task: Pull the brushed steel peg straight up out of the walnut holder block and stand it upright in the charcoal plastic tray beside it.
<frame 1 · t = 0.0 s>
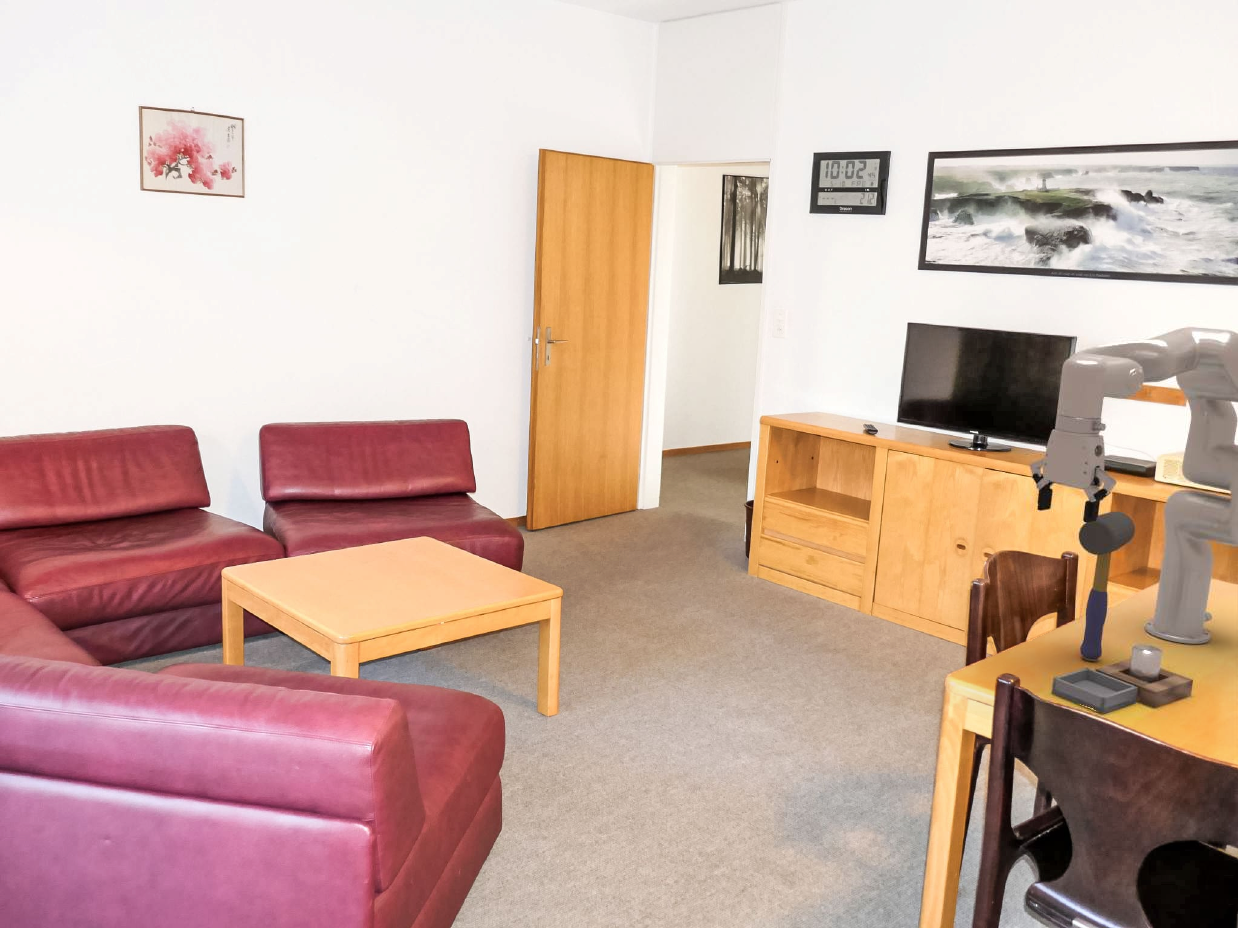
hand: (1066, 515, 199), 31 cm above the table, tool pointing down, fingers open, 9 cm apart
tray: (1093, 697, 194), on the table
steel peg: (1144, 669, 198), in the holder block
rubber mallet: (1089, 660, 213), on the table
holder block: (1141, 689, 199), on the table
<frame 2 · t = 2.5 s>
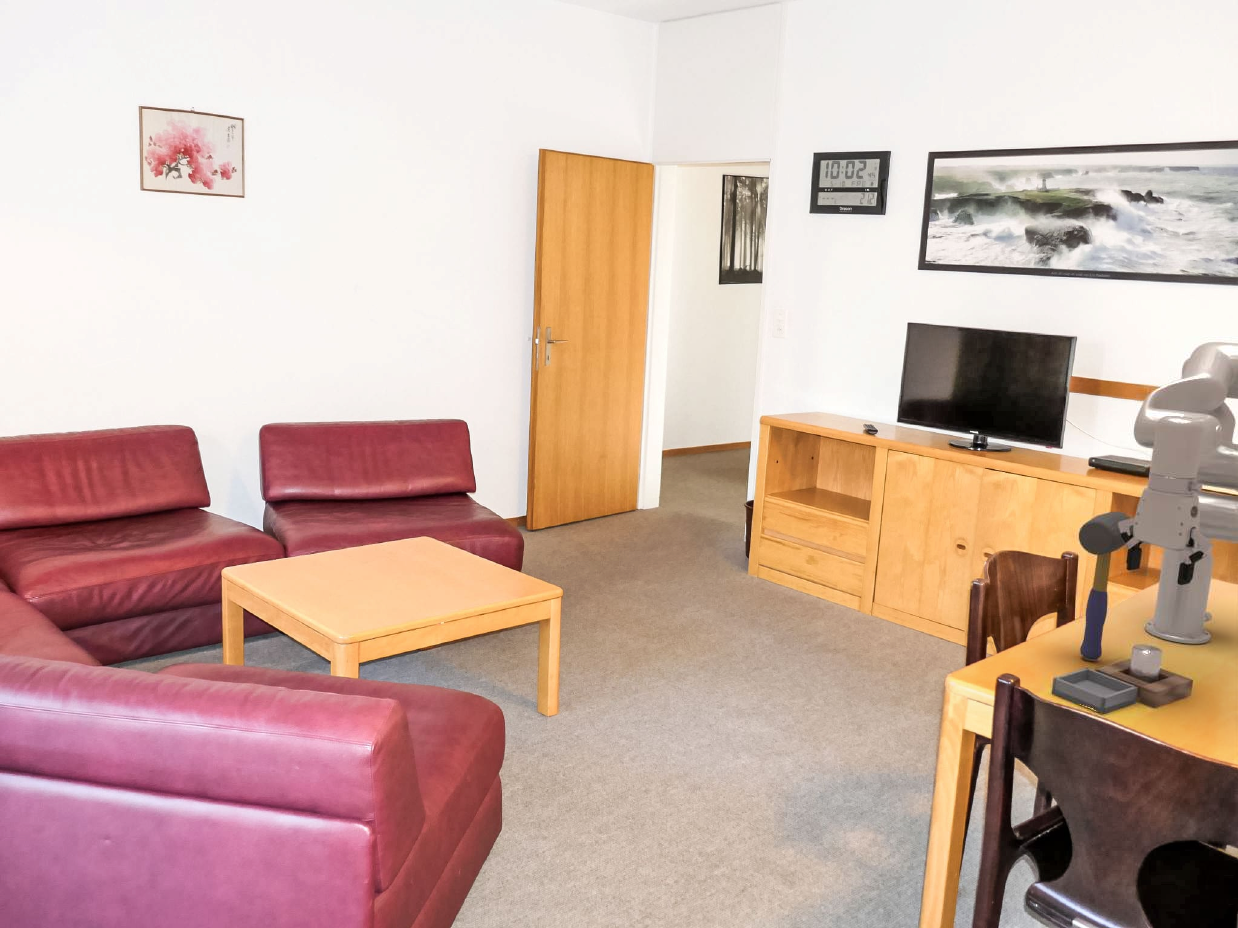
hand: (1157, 576, 194), 22 cm above the table, tool pointing down, fingers open, 9 cm apart
nothing on the table moved.
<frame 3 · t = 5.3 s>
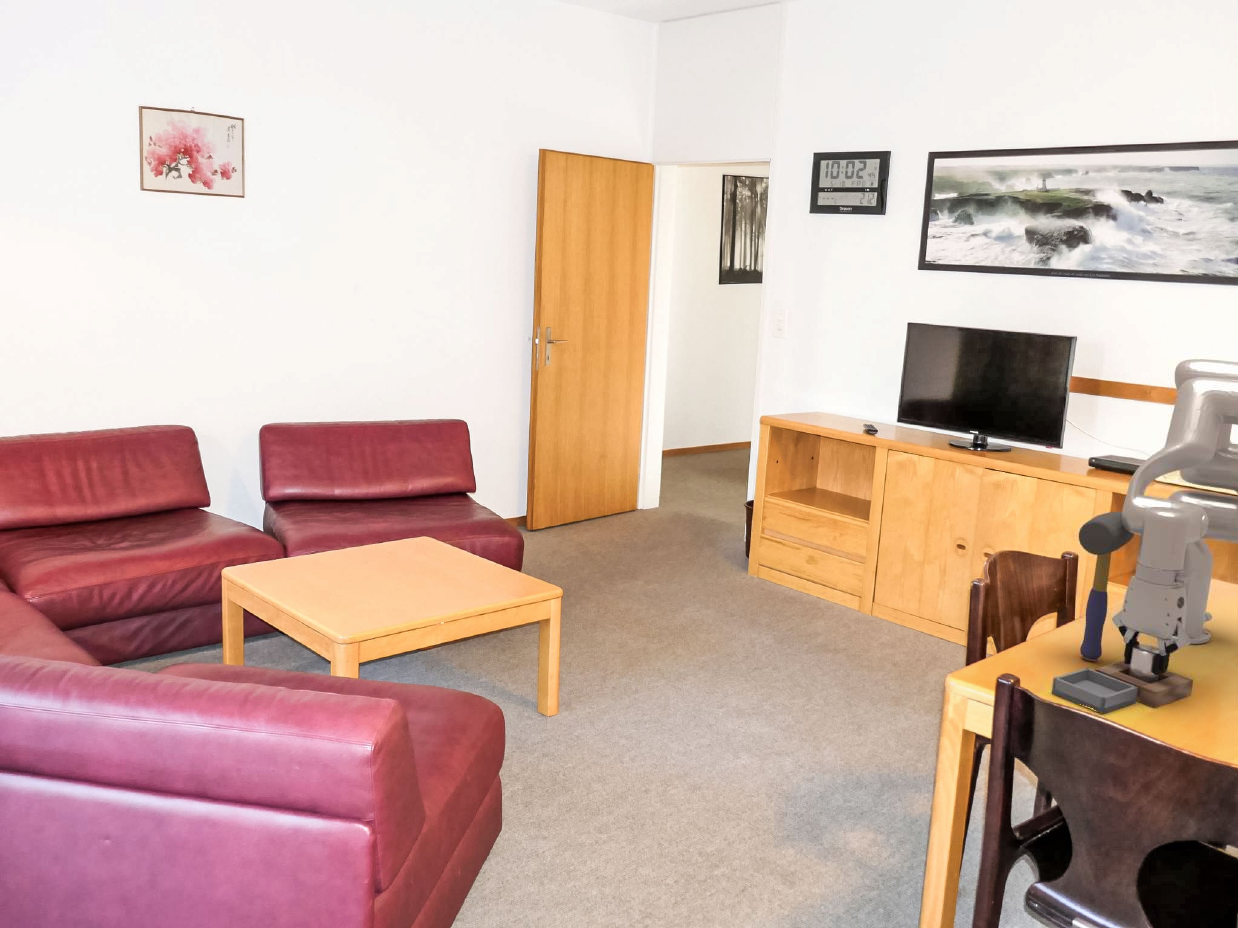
hand: (1144, 667, 198), 4 cm above the table, tool pointing down, fingers closed on steel peg, 5 cm apart
steel peg: (1144, 669, 198), in the holder block, touching gripper
everything else where it was.
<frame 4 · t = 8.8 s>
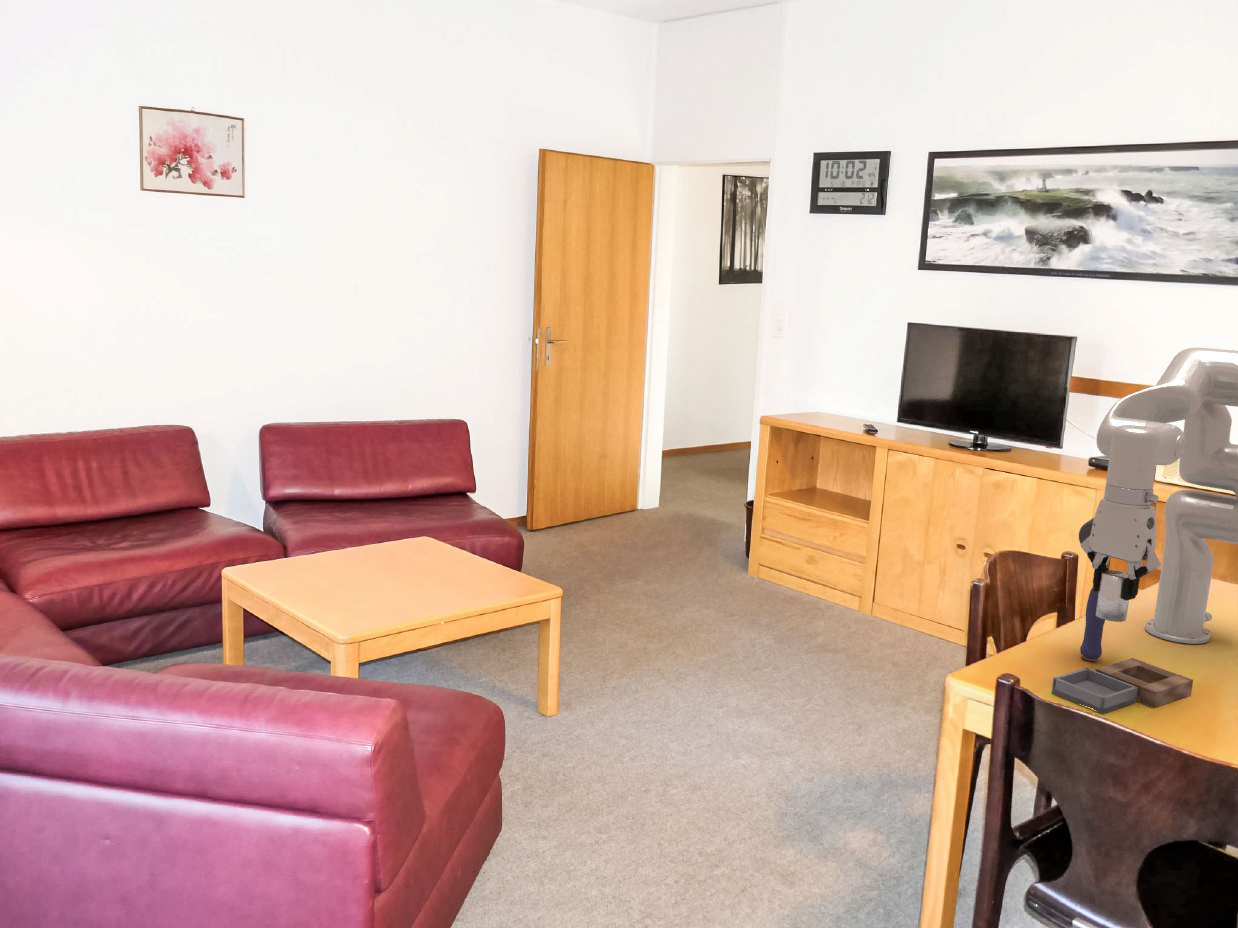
hand: (1114, 593, 190), 20 cm above the table, tool pointing down, fingers closed on steel peg, 5 cm apart
steel peg: (1113, 595, 191), point 19 cm above the table, touching gripper
everything else where it was.
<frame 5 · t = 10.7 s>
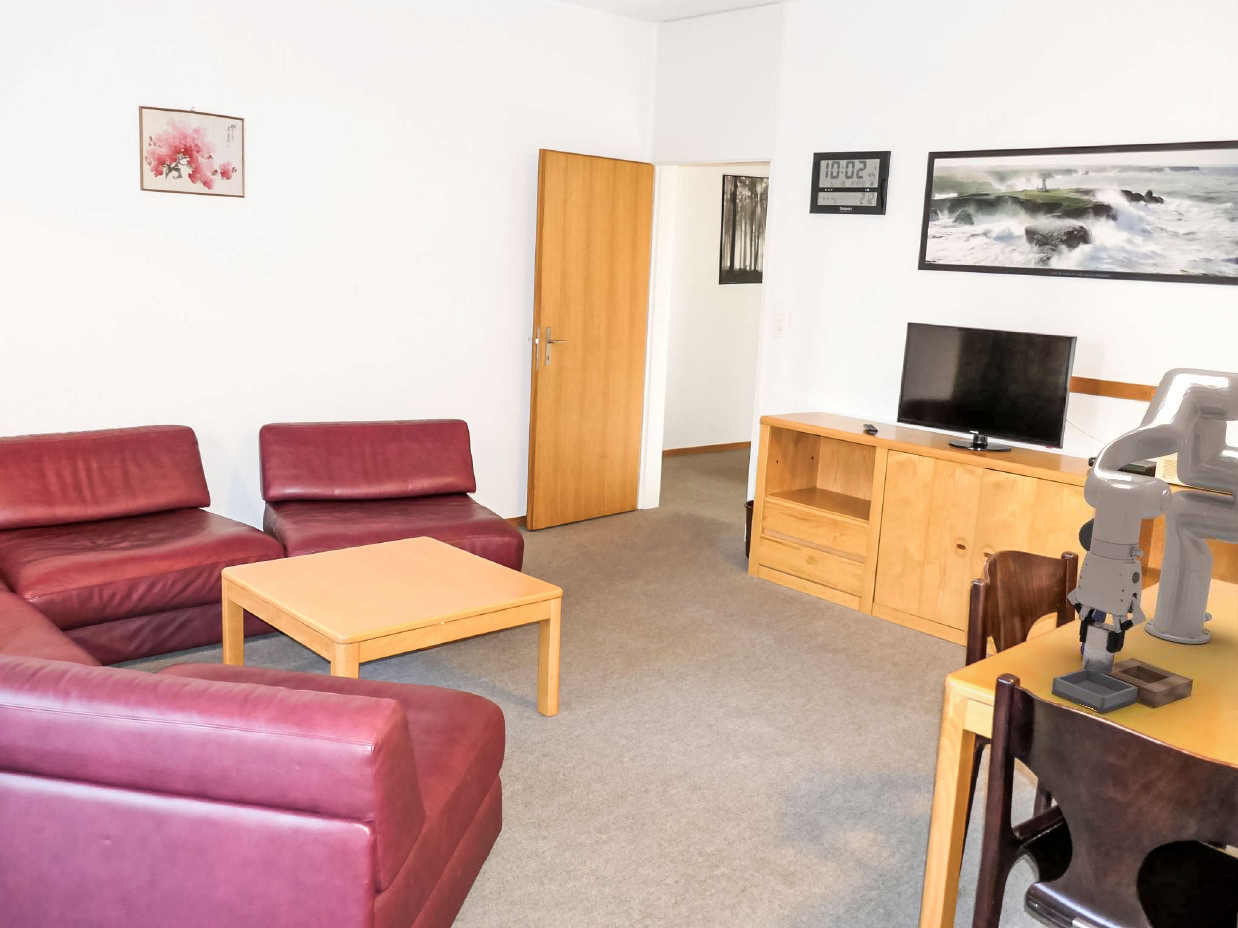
hand: (1100, 645, 192), 10 cm above the table, tool pointing down, fingers closed on steel peg, 5 cm apart
steel peg: (1099, 647, 192), point 10 cm above the table, touching gripper
everything else where it was.
when the fingers open (6 cm above the table, at t = 12.3 s): steel peg stays where it is, resting on tray.
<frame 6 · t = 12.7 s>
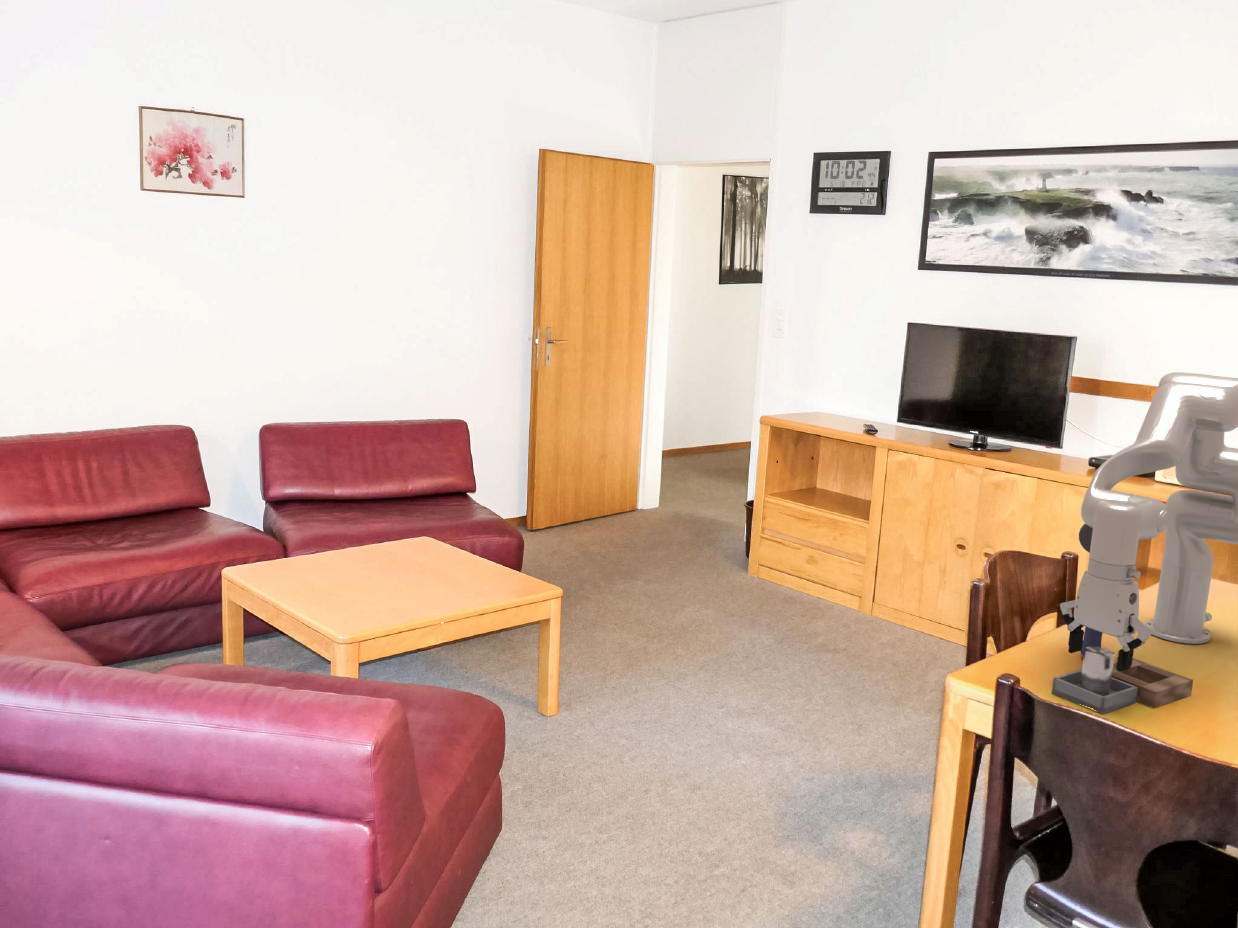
hand: (1098, 660, 192), 7 cm above the table, tool pointing down, fingers open, 9 cm apart
steel peg: (1096, 672, 193), in the tray, point 5 cm above the table
everything else where it was.
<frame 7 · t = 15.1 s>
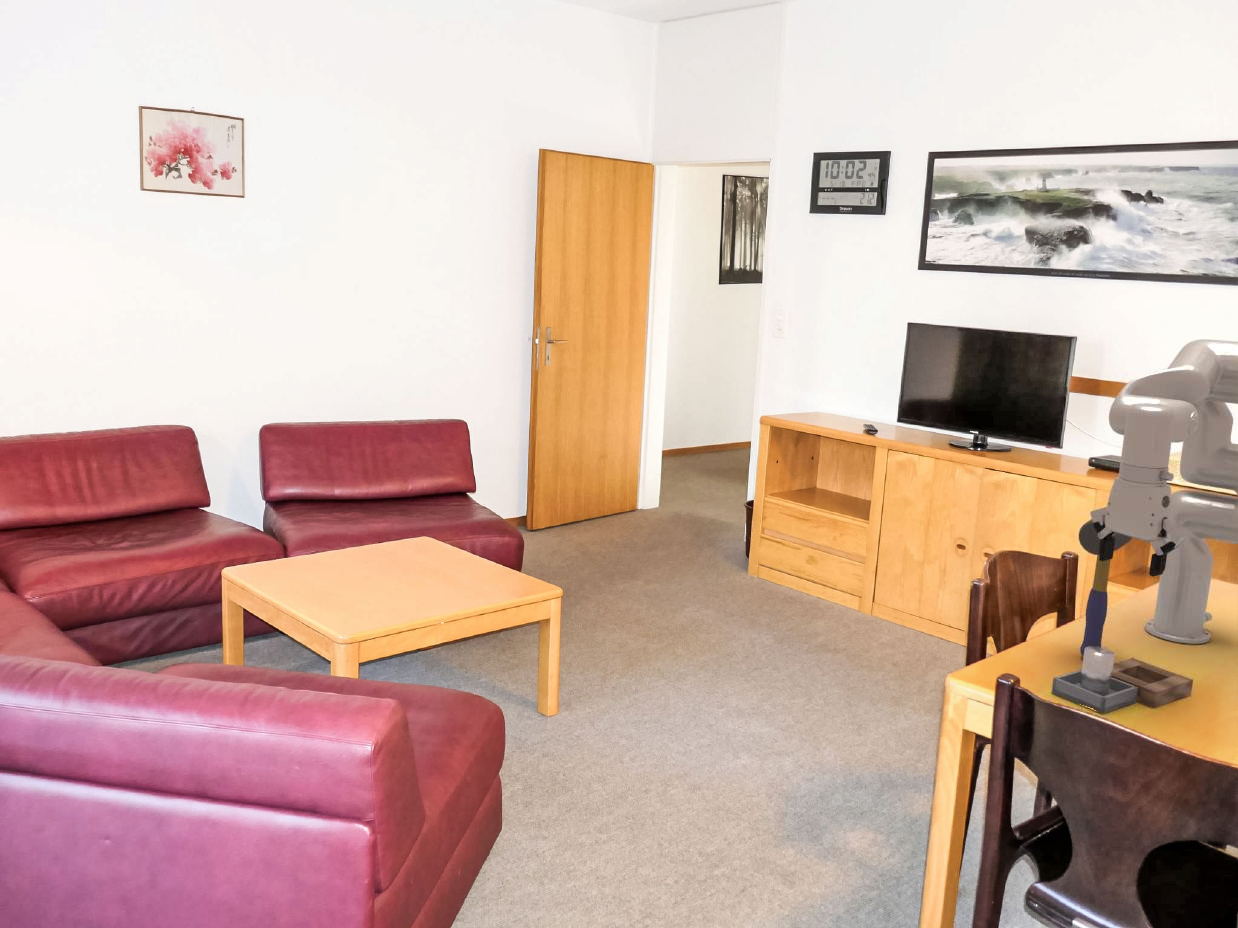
hand: (1130, 567, 190), 25 cm above the table, tool pointing down, fingers open, 9 cm apart
nothing on the table moved.
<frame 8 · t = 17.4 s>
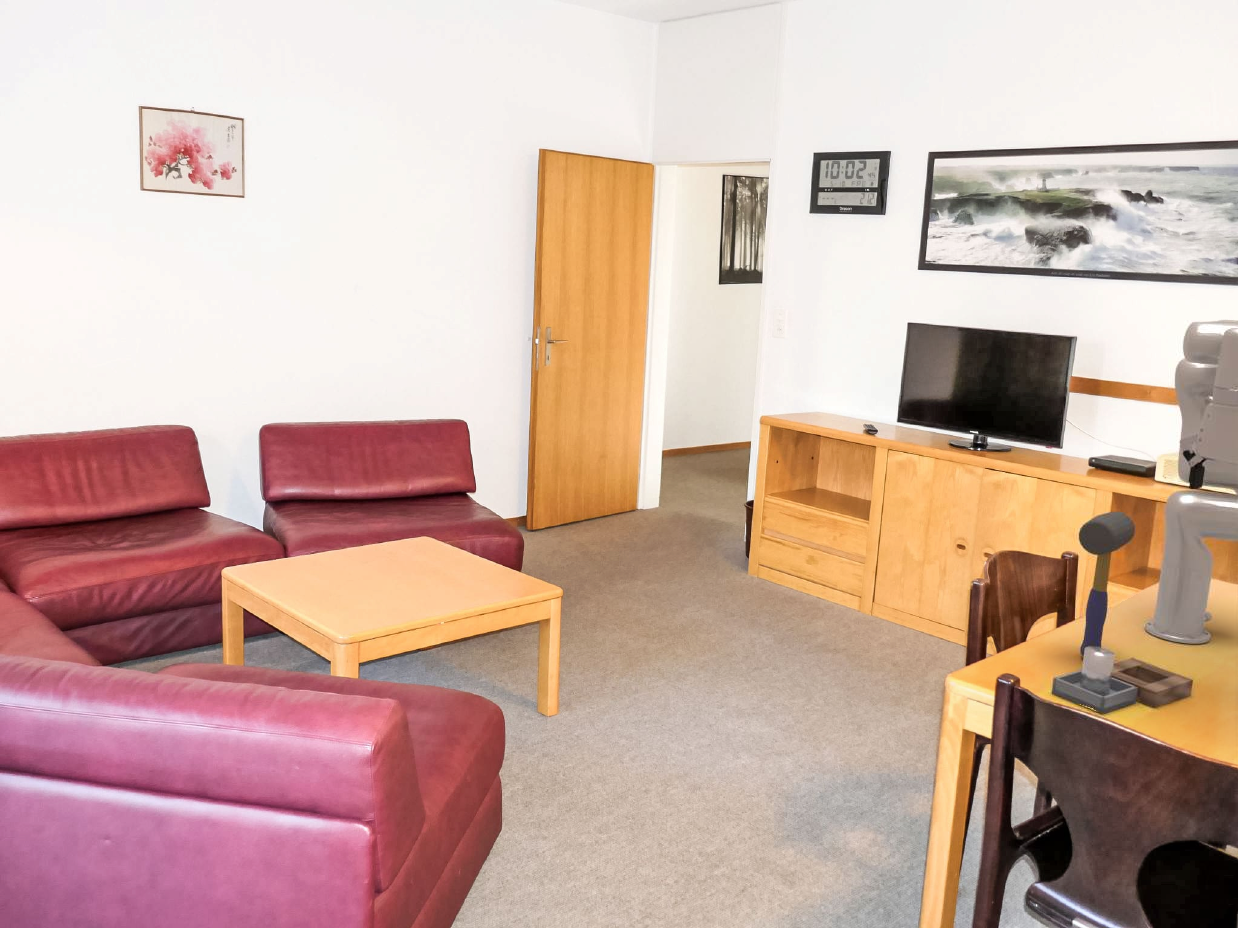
hand: (1222, 493, 189), 38 cm above the table, tool pointing down, fingers open, 9 cm apart
nothing on the table moved.
at the end: steel peg 0.1 cm off-centre on the tray, point 5.0 cm above the tray's base; steel peg tilted 0°; the gripper is holding nothing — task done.
